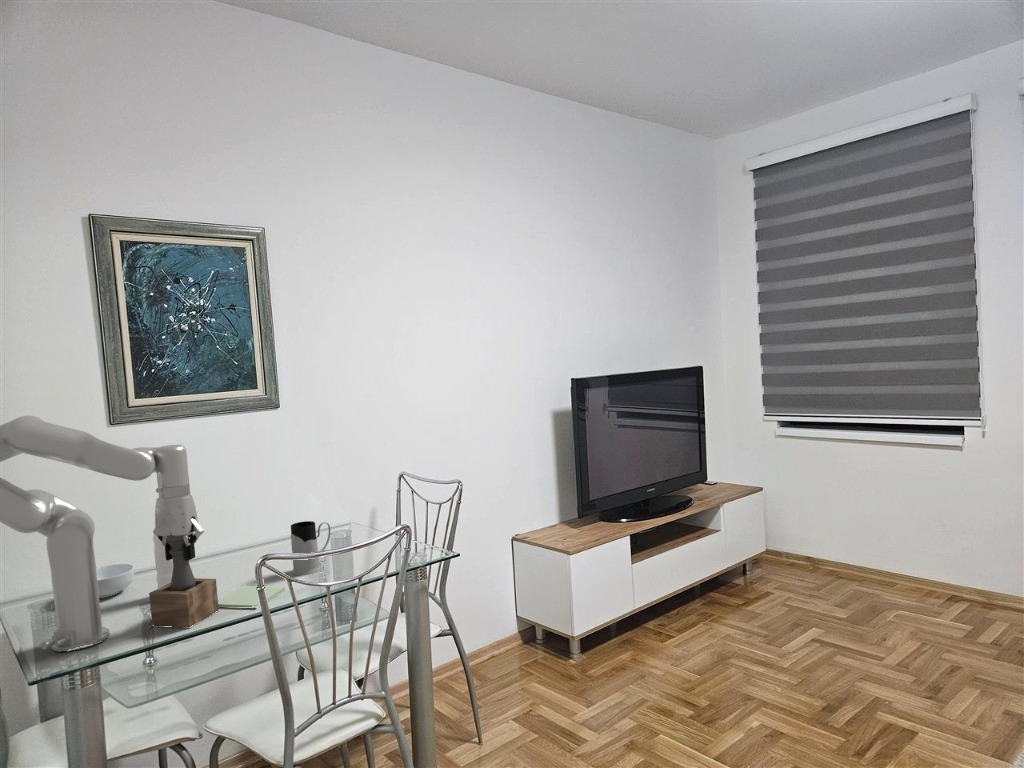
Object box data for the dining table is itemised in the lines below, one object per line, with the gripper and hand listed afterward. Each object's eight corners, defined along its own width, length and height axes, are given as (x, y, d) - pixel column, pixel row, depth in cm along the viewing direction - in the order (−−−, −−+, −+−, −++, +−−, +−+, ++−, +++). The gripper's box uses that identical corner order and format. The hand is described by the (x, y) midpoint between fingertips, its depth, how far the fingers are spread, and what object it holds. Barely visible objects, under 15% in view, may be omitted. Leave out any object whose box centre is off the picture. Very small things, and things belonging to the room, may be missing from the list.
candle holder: (203, 616, 188) (195, 524, 186) (182, 624, 183) (173, 531, 181) (190, 612, 191) (181, 522, 190) (168, 621, 186) (159, 528, 185)
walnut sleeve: (189, 628, 180) (186, 594, 179) (152, 626, 183) (149, 593, 182) (218, 611, 191) (215, 578, 191) (182, 609, 194) (179, 577, 193)
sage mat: (256, 609, 191) (256, 605, 191) (212, 607, 194) (212, 603, 194) (285, 590, 204) (284, 587, 204) (243, 589, 208) (242, 586, 208)
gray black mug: (286, 572, 222) (282, 525, 221) (324, 559, 232) (321, 515, 232) (302, 577, 216) (298, 529, 215) (340, 564, 227) (337, 518, 226)
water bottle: (174, 599, 203) (166, 514, 201) (153, 599, 204) (144, 515, 203) (190, 590, 210) (182, 508, 208) (169, 590, 211) (161, 509, 210)
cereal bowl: (141, 593, 210) (139, 570, 210) (76, 609, 200) (74, 585, 199) (130, 581, 223) (127, 559, 223) (69, 595, 213) (66, 572, 213)
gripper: (136, 495, 183) (143, 563, 184) (192, 494, 179) (198, 564, 180) (157, 489, 191) (163, 554, 192) (211, 488, 187) (217, 555, 188)
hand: (180, 558), depth 186 cm, fingers closed on candle holder, 5 cm apart
